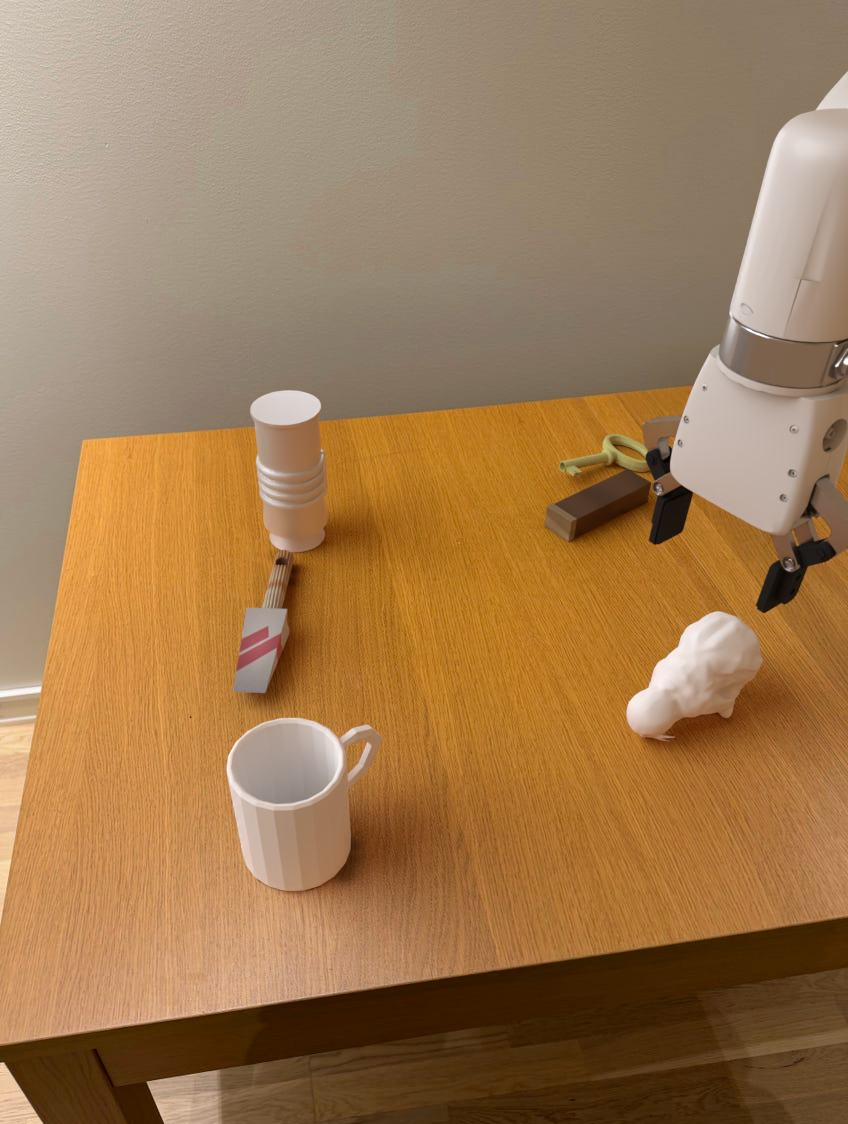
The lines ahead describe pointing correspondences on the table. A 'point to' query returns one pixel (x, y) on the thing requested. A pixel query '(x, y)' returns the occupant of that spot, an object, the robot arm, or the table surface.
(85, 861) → the table surface
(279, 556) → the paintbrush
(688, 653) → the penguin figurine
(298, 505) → the white ribbed cylinder
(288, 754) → the mug
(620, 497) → the walnut bar
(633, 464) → the key
